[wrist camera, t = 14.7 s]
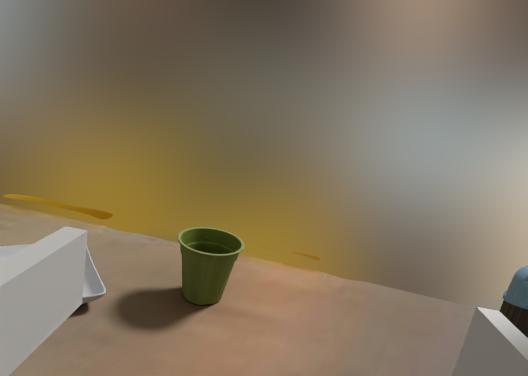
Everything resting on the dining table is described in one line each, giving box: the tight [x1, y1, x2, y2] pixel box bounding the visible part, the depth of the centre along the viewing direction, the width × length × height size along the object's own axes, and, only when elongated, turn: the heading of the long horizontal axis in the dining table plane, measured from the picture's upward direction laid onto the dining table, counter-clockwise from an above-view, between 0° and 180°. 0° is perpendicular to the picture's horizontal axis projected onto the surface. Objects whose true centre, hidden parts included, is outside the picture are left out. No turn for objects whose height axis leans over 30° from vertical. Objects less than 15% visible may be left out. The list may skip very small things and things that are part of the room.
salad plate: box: [0, 244, 106, 303], centre depth 59 cm, size 21×21×3 cm
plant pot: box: [178, 227, 244, 305], centre depth 66 cm, size 12×12×11 cm
